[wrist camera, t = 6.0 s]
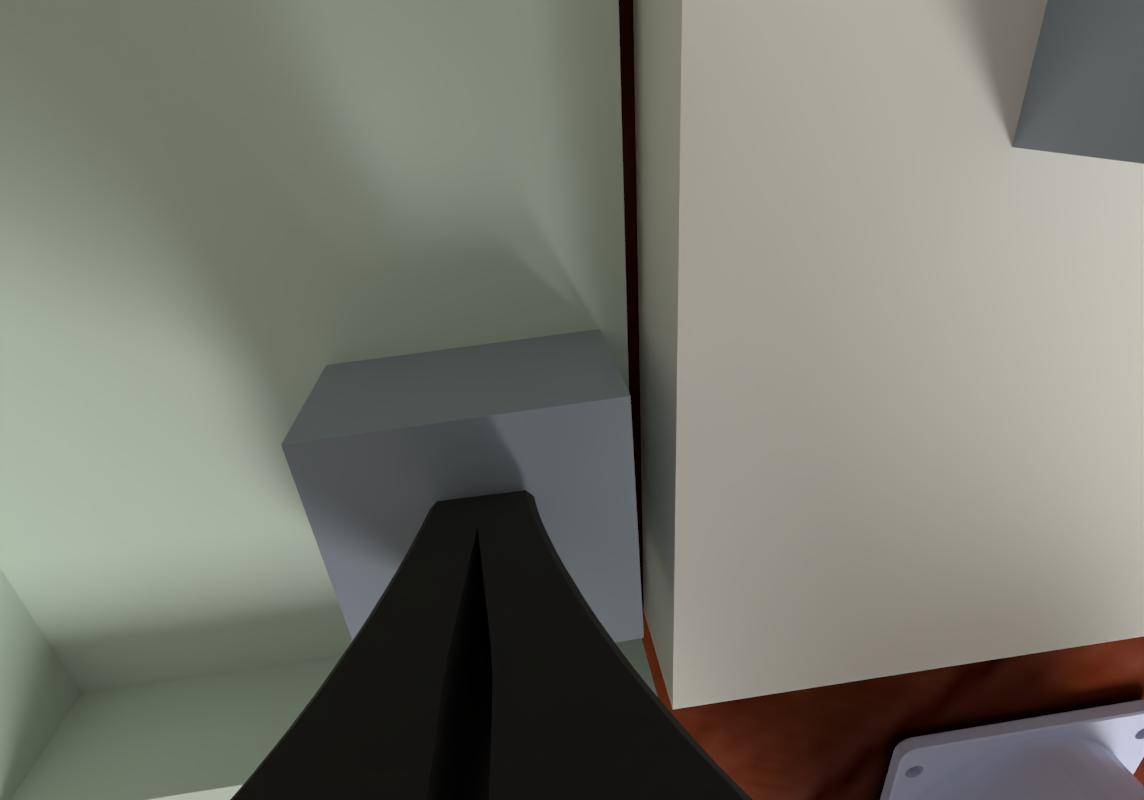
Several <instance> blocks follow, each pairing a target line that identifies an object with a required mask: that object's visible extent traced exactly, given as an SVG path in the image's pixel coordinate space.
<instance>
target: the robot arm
mask: <svg viewBox="0 0 1144 800" xmlns="http://www.w3.org/2000/svg"><path fill="white" fill-rule="evenodd" d="M1143 757H1144V699H1142V700H1136V701H1130V702H1123V703H1117V704H1111V705H1105V706H1099V707H1093V708H1087V709H1081V710H1075V711H1069V712H1063V713H1056V714H1050V715H1044V716H1038V717H1032V718H1026V719H1020V720H1014V721H1008V722H1002V723H995V724H989V725H983V726H977V727H971V728H965V729H959V730H953V731H947V732H941V733H935V734H928V735H922V736H916V737H911V738H907V739H905V740H903V741H901V742H900V743H899V744H898V745H896V747H895V749H894V751H893V755H892V758H891V762H890V765H889V769H888V773H887V776H886V780H885V784H884V787H883V791H882V794H881V798H880V800H1144V786H1143V785H1142V784H1141V783H1140V782H1139V781H1138V780H1137V779H1136V778H1135V776H1134V775H1133V774H1134V772H1135V771H1136V769H1137V767H1138V765H1139V764H1140V762H1141V760H1142V758H1143ZM230 800H752V799H751V798H750V797H749V796H748V795H747V794H746V793H745V792H744V791H743V790H742V789H741V788H740V787H739V786H738V785H737V784H736V783H735V782H734V781H733V780H732V779H731V778H730V777H729V776H728V775H727V774H726V773H725V772H724V771H723V770H722V769H721V768H720V767H719V766H718V765H717V764H716V763H715V762H714V760H713V759H712V758H711V757H710V756H709V755H708V754H707V753H706V752H705V751H704V749H703V748H702V747H701V746H700V745H699V744H698V743H697V742H696V741H695V739H694V738H693V737H692V736H691V735H690V734H689V733H688V732H687V731H686V729H685V728H684V727H683V726H682V725H681V724H680V723H679V722H678V720H677V719H676V718H675V717H674V716H673V715H672V714H671V712H670V711H669V710H668V709H667V708H666V706H665V705H664V704H663V703H662V702H661V700H660V699H659V698H658V697H657V696H656V694H655V693H654V692H653V691H652V690H651V689H650V687H649V686H648V685H647V684H646V682H645V681H644V680H643V679H642V677H641V676H640V675H639V674H638V672H637V671H636V670H635V669H634V667H633V666H632V665H631V663H630V662H629V661H628V659H627V658H626V657H625V656H624V654H623V653H622V652H621V650H620V649H619V647H618V646H617V645H616V643H615V642H614V641H613V639H612V638H611V636H610V635H609V634H608V632H607V631H606V629H605V628H604V627H603V625H602V624H601V622H600V621H599V620H598V618H597V617H596V615H595V614H594V612H593V611H592V609H591V608H590V606H589V605H588V603H587V602H586V600H585V599H584V597H583V595H582V594H581V592H580V590H579V589H578V587H577V586H576V584H575V582H574V581H573V579H572V577H571V576H570V574H569V573H568V571H567V569H566V568H565V566H564V564H563V562H562V561H561V559H560V557H559V555H558V553H557V552H556V550H555V548H554V546H553V544H552V542H551V540H550V538H549V536H548V534H547V532H546V529H545V527H544V525H543V523H542V520H541V518H540V515H539V512H538V509H537V506H536V502H535V497H534V496H533V495H532V494H530V493H529V492H527V491H526V490H524V491H515V492H507V493H499V494H491V495H483V496H475V497H467V498H459V499H451V500H443V501H437V502H436V503H435V504H434V505H433V506H432V507H431V508H430V510H429V512H428V514H427V516H426V518H425V520H424V522H423V524H422V526H421V528H420V530H419V532H418V533H417V535H416V537H415V539H414V541H413V543H412V545H411V546H410V548H409V550H408V552H407V554H406V555H405V557H404V559H403V561H402V562H401V564H400V566H399V568H398V569H397V571H396V573H395V575H394V576H393V578H392V579H391V581H390V583H389V584H388V586H387V588H386V589H385V591H384V592H383V594H382V596H381V597H380V599H379V601H378V602H377V604H376V605H375V607H374V609H373V610H372V612H371V613H370V615H369V617H368V618H367V620H366V621H365V623H364V624H363V626H362V628H361V629H360V631H359V632H358V634H357V635H356V636H355V638H354V639H353V641H352V642H351V644H350V645H349V646H348V648H347V649H346V651H345V652H344V654H343V655H342V657H341V658H340V659H339V661H338V662H337V664H336V665H335V667H334V668H333V669H332V671H331V672H330V674H329V675H328V677H327V678H326V680H325V681H324V682H323V684H322V685H321V687H320V688H319V689H318V691H317V692H316V693H315V695H314V696H313V697H312V699H311V700H310V701H309V703H308V704H307V705H306V707H305V708H304V709H303V711H302V712H301V713H300V715H299V716H298V717H297V719H296V720H295V721H294V723H293V724H292V725H291V726H290V728H289V729H288V730H287V732H286V733H285V734H284V735H283V737H282V738H281V739H280V740H279V742H278V743H277V744H276V745H275V747H274V748H273V749H272V750H271V751H270V753H269V754H268V755H267V756H266V758H265V759H264V760H263V761H262V763H261V764H260V765H259V766H258V767H257V769H256V770H255V771H254V772H253V774H252V775H251V776H250V777H249V778H248V780H247V781H246V782H245V783H244V784H243V786H242V787H241V788H240V789H239V790H238V791H237V792H236V794H235V795H234V796H233V797H232V798H231V799H230Z"/></svg>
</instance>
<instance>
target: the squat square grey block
mask: <svg viewBox="0 0 1144 800" xmlns="http://www.w3.org/2000/svg"><path fill="white" fill-rule="evenodd" d="M281 446H282V449H283V452H284V455H285V457H286V460H287V463H288V465H289V468H290V471H291V474H292V476H293V479H294V482H295V485H296V487H297V490H298V493H299V496H300V498H301V501H302V504H303V507H304V509H305V512H306V515H307V518H308V520H309V523H310V526H311V529H312V531H313V534H314V537H315V540H316V542H317V545H318V548H319V550H320V553H321V556H322V559H323V561H324V564H325V567H326V570H327V572H328V575H329V578H330V581H331V583H332V586H333V589H334V592H335V594H336V597H337V600H338V603H339V605H340V608H341V611H342V614H343V616H344V619H345V622H346V624H347V627H348V630H349V633H350V635H351V638H352V641H353V639H354V638H355V636H356V635H357V634H358V632H359V631H360V629H361V628H362V626H363V624H364V623H365V621H366V620H367V618H368V617H369V615H370V613H371V612H372V610H373V609H374V607H375V605H376V604H377V602H378V601H379V599H380V597H381V596H382V594H383V592H384V591H385V589H386V588H387V586H388V584H389V583H390V581H391V579H392V578H393V576H394V575H395V573H396V571H397V569H398V568H399V566H400V564H401V562H402V561H403V559H404V557H405V555H406V554H407V552H408V550H409V548H410V546H411V545H412V543H413V541H414V539H415V537H416V535H417V533H418V532H419V530H420V528H421V526H422V524H423V522H424V520H425V518H426V516H427V514H428V512H429V510H430V508H431V507H432V506H433V505H434V504H435V503H436V502H437V501H443V500H451V499H459V498H467V497H475V496H483V495H491V494H499V493H507V492H515V491H524V490H526V491H527V492H529V493H530V494H532V495H533V496H534V497H535V502H536V506H537V509H538V512H539V515H540V518H541V520H542V523H543V525H544V527H545V529H546V532H547V534H548V536H549V538H550V540H551V542H552V544H553V546H554V548H555V550H556V552H557V553H558V555H559V557H560V559H561V561H562V562H563V564H564V566H565V568H566V569H567V571H568V573H569V574H570V576H571V577H572V579H573V581H574V582H575V584H576V586H577V587H578V589H579V590H580V592H581V594H582V595H583V597H584V599H585V600H586V602H587V603H588V605H589V606H590V608H591V609H592V611H593V612H594V614H595V615H596V617H597V618H598V620H599V621H600V622H601V624H602V625H603V627H604V628H605V629H606V631H607V632H608V634H609V635H610V636H611V638H612V639H613V641H614V642H621V641H627V640H633V639H639V638H644V630H643V612H642V594H641V576H640V558H639V540H638V522H637V504H636V486H635V467H634V449H633V431H632V413H631V396H630V394H629V391H628V389H627V387H626V385H625V383H624V381H623V378H622V376H621V374H620V372H619V370H618V367H617V365H616V363H615V361H614V359H613V356H612V354H611V352H610V350H609V348H608V345H607V343H606V341H605V339H604V337H603V334H602V332H601V330H600V329H596V330H588V331H581V332H573V333H565V334H558V335H550V336H543V337H535V338H528V339H520V340H513V341H505V342H497V343H490V344H482V345H475V346H467V347H460V348H452V349H444V350H437V351H429V352H422V353H414V354H407V355H399V356H392V357H384V358H376V359H369V360H361V361H354V362H346V363H339V364H331V365H326V366H325V368H324V370H323V371H322V373H321V375H320V377H319V379H318V380H317V382H316V384H315V386H314V387H313V389H312V391H311V393H310V394H309V396H308V398H307V400H306V402H305V403H304V405H303V407H302V409H301V410H300V412H299V414H298V416H297V417H296V419H295V421H294V423H293V424H292V426H291V428H290V430H289V432H288V433H287V435H286V437H285V439H284V440H283V442H282V444H281Z"/></svg>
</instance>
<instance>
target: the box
mask: <svg viewBox="0 0 1144 800" xmlns="http://www.w3.org/2000/svg"><path fill="white" fill-rule="evenodd" d="M596 329H600V330H601V332H602V334H603V337H604V339H605V341H606V343H607V345H608V348H609V350H610V352H611V354H612V356H613V359H614V361H615V363H616V365H617V367H618V370H619V372H620V374H621V376H622V378H623V381H624V383H625V385H626V387H627V389H628V391H629V372H628V334H627V296H626V259H625V221H624V183H623V146H622V108H621V70H620V32H619V0H0V800H230V799H231V798H232V797H233V796H234V795H235V794H236V792H237V791H238V790H239V789H240V788H241V787H242V786H243V784H244V783H245V782H246V781H247V780H248V778H249V777H250V776H251V775H252V774H253V772H254V771H255V770H256V769H257V767H258V766H259V765H260V764H261V763H262V761H263V760H264V759H265V758H266V756H267V755H268V754H269V753H270V751H271V750H272V749H273V748H274V747H275V745H276V744H277V743H278V742H279V740H280V739H281V738H282V737H283V735H284V734H285V733H286V732H287V730H288V729H289V728H290V726H291V725H292V724H293V723H294V721H295V720H296V719H297V717H298V716H299V715H300V713H301V712H302V711H303V709H304V708H305V707H306V705H307V704H308V703H309V701H310V700H311V699H312V697H313V696H314V695H315V693H316V692H317V691H318V689H319V688H320V687H321V685H322V684H323V682H324V681H325V680H326V678H327V677H328V675H329V674H330V672H331V671H332V669H333V668H334V667H335V665H336V664H337V662H338V661H339V659H340V658H341V657H342V655H343V654H344V652H345V651H346V649H347V648H348V646H349V645H350V644H351V642H352V638H351V635H350V633H349V630H348V627H347V624H346V622H345V619H344V616H343V614H342V611H341V608H340V605H339V603H338V600H337V597H336V594H335V592H334V589H333V586H332V583H331V581H330V578H329V575H328V572H327V570H326V567H325V564H324V561H323V559H322V556H321V553H320V550H319V548H318V545H317V542H316V540H315V537H314V534H313V531H312V529H311V526H310V523H309V520H308V518H307V515H306V512H305V509H304V507H303V504H302V501H301V498H300V496H299V493H298V490H297V487H296V485H295V482H294V479H293V476H292V474H291V471H290V468H289V465H288V463H287V460H286V457H285V455H284V452H283V449H282V446H281V444H282V442H283V440H284V439H285V437H286V435H287V433H288V432H289V430H290V428H291V426H292V424H293V423H294V421H295V419H296V417H297V416H298V414H299V412H300V410H301V409H302V407H303V405H304V403H305V402H306V400H307V398H308V396H309V394H310V393H311V391H312V389H313V387H314V386H315V384H316V382H317V380H318V379H319V377H320V375H321V373H322V371H323V370H324V368H325V366H326V365H331V364H339V363H346V362H354V361H361V360H369V359H376V358H384V357H392V356H399V355H407V354H414V353H422V352H429V351H437V350H444V349H452V348H460V347H467V346H475V345H482V344H490V343H497V342H505V341H513V340H520V339H528V338H535V337H543V336H550V335H558V334H565V333H573V332H581V331H588V330H596ZM615 643H616V645H617V646H618V647H619V649H620V650H621V652H622V653H623V654H624V656H625V657H626V658H627V659H628V661H629V662H630V663H631V665H632V666H633V667H634V669H635V670H636V671H637V672H638V674H639V675H640V676H641V677H642V679H643V680H644V681H645V682H646V684H647V685H648V686H649V687H650V689H651V690H652V691H653V692H654V693H655V694H656V696H657V697H658V695H657V692H656V688H655V685H654V681H653V677H652V674H651V670H650V667H649V663H648V659H647V656H646V652H645V649H644V645H643V641H642V638H639V639H633V640H627V641H621V642H615Z"/></svg>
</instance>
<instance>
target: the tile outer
mask: <svg viewBox="0 0 1144 800" xmlns="http://www.w3.org/2000/svg"><path fill="white" fill-rule="evenodd" d="M1012 147H1015V148H1023V149H1031V150H1039V151H1047V152H1055V153H1063V154H1071V155H1078V156H1086V157H1094V158H1102V159H1110V160H1118V161H1126V162H1134V163H1142V164H1144V0H1048V1H1047V5H1046V9H1045V13H1044V17H1043V22H1042V26H1041V30H1040V34H1039V38H1038V42H1037V46H1036V50H1035V54H1034V59H1033V63H1032V67H1031V71H1030V75H1029V79H1028V83H1027V87H1026V91H1025V96H1024V100H1023V104H1022V108H1021V112H1020V116H1019V120H1018V124H1017V129H1016V133H1015V137H1014V141H1013V145H1012Z"/></svg>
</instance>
